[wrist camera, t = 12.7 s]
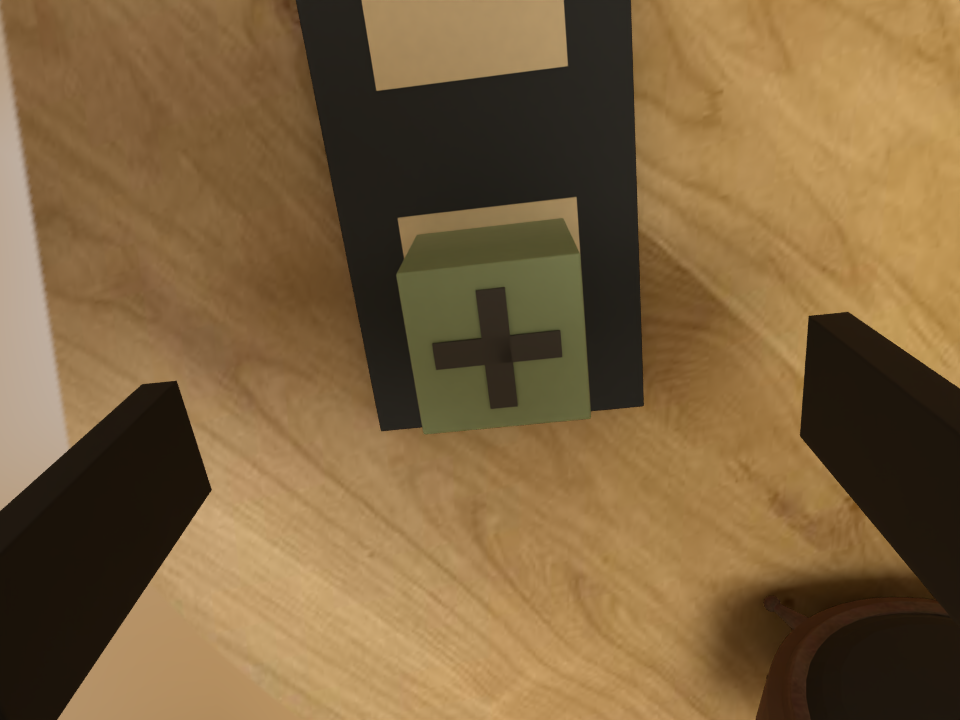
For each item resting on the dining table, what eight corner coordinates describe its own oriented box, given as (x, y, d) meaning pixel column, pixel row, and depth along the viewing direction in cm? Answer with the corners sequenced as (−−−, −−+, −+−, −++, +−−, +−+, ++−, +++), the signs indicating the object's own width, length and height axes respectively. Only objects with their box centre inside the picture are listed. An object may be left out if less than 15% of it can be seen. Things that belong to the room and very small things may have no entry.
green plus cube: (416, 234, 23) (395, 274, 18) (563, 217, 23) (581, 253, 18) (437, 369, 25) (423, 437, 20) (573, 355, 25) (591, 421, 20)
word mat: (262, -202, 19) (251, -215, 18) (617, -259, 19) (622, -275, 18) (384, 421, 27) (380, 433, 26) (640, 397, 26) (644, 407, 25)
